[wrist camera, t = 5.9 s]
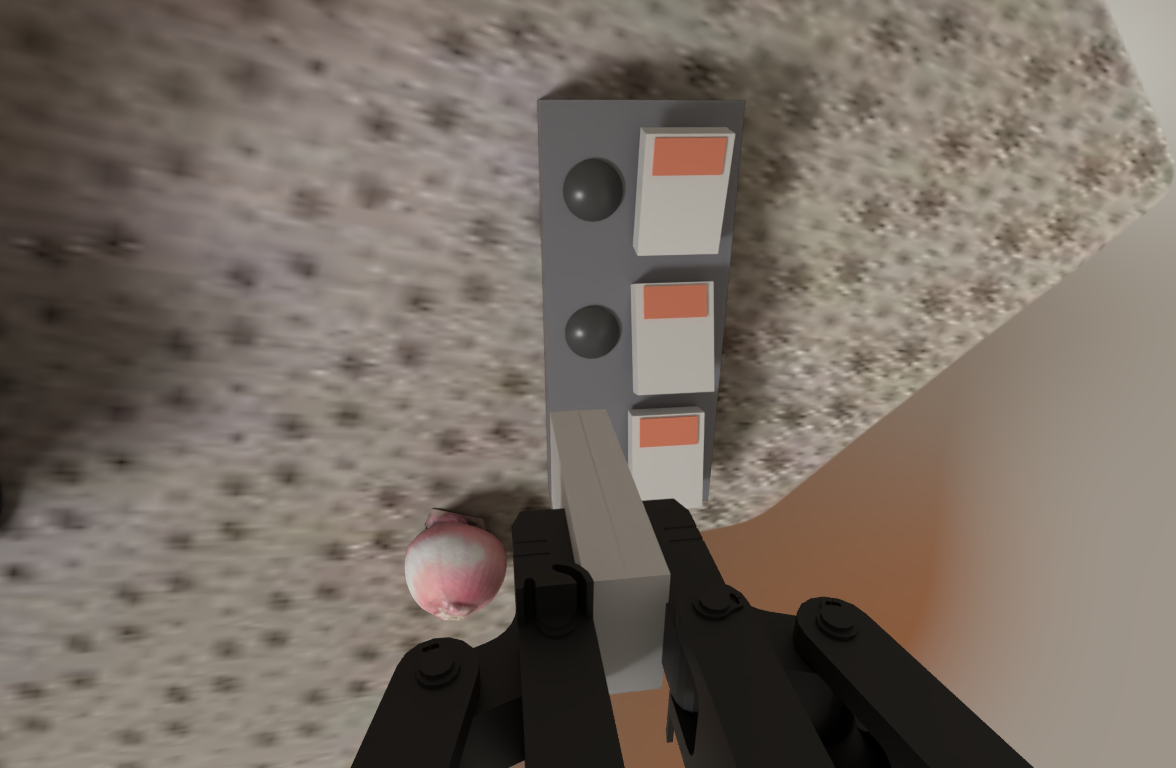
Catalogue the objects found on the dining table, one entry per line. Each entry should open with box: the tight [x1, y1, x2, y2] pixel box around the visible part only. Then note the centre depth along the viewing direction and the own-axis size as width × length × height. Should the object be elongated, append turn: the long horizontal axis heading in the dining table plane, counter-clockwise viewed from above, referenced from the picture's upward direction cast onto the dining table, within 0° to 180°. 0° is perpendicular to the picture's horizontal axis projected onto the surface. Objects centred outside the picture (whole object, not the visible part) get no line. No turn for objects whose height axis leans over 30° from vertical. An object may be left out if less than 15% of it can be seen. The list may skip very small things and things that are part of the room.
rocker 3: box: [628, 406, 705, 508], centre depth 44 cm, size 5×7×2 cm
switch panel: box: [537, 100, 745, 509], centre depth 44 cm, size 12×28×4 cm, turn 0°
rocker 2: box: [631, 281, 714, 395], centre depth 41 cm, size 5×7×2 cm
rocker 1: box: [633, 127, 735, 256], centre depth 37 cm, size 5×7×2 cm
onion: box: [405, 509, 507, 621], centre depth 49 cm, size 8×8×7 cm
